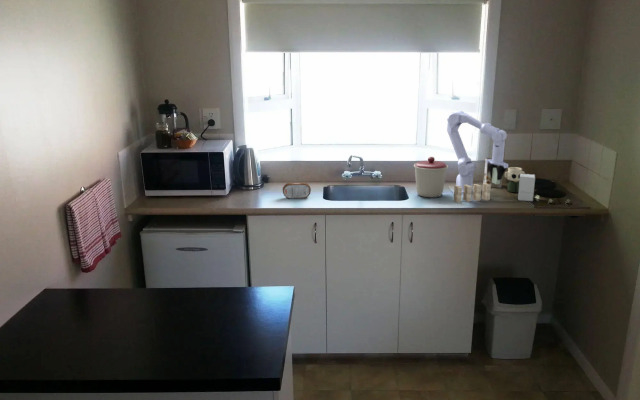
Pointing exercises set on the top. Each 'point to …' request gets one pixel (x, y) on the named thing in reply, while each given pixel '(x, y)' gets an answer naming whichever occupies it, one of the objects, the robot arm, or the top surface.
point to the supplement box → (526, 187)
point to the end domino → (495, 177)
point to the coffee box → (488, 178)
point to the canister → (430, 177)
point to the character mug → (513, 178)
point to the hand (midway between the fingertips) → (496, 178)
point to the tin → (296, 190)
